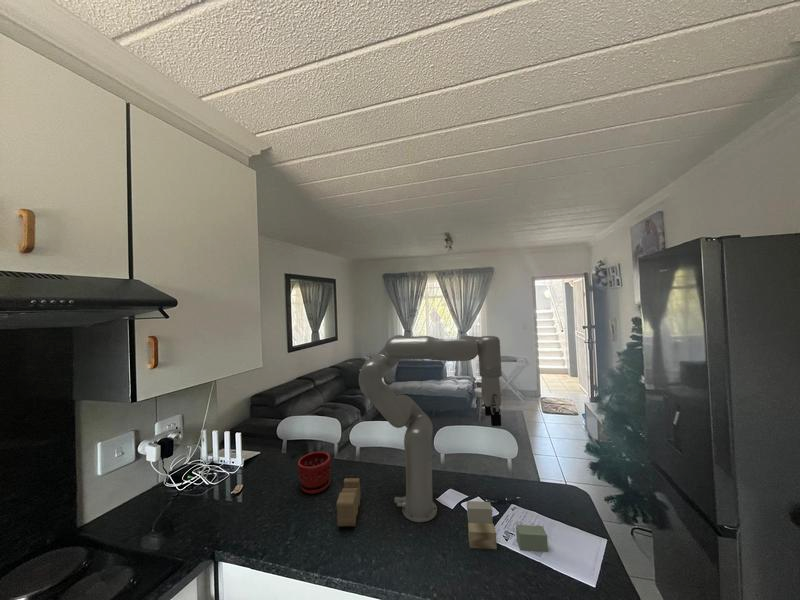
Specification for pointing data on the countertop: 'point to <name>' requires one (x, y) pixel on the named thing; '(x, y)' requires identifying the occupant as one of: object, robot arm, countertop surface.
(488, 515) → the offwhite brick
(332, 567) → the countertop surface
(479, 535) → the beech brick
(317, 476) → the plant pot
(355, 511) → the toy train
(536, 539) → the sage brick
